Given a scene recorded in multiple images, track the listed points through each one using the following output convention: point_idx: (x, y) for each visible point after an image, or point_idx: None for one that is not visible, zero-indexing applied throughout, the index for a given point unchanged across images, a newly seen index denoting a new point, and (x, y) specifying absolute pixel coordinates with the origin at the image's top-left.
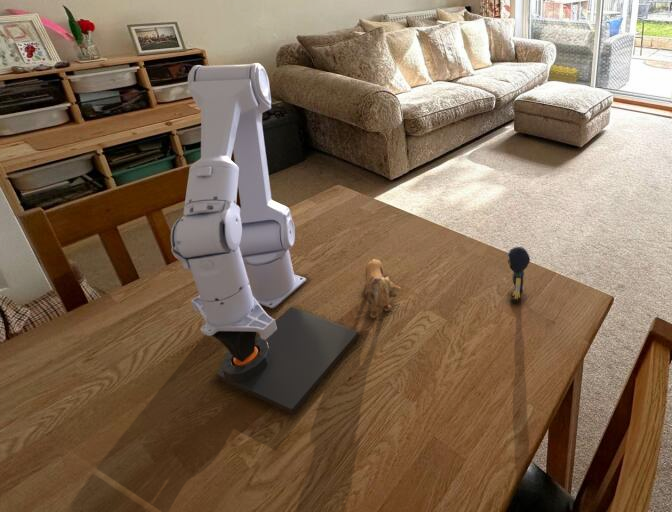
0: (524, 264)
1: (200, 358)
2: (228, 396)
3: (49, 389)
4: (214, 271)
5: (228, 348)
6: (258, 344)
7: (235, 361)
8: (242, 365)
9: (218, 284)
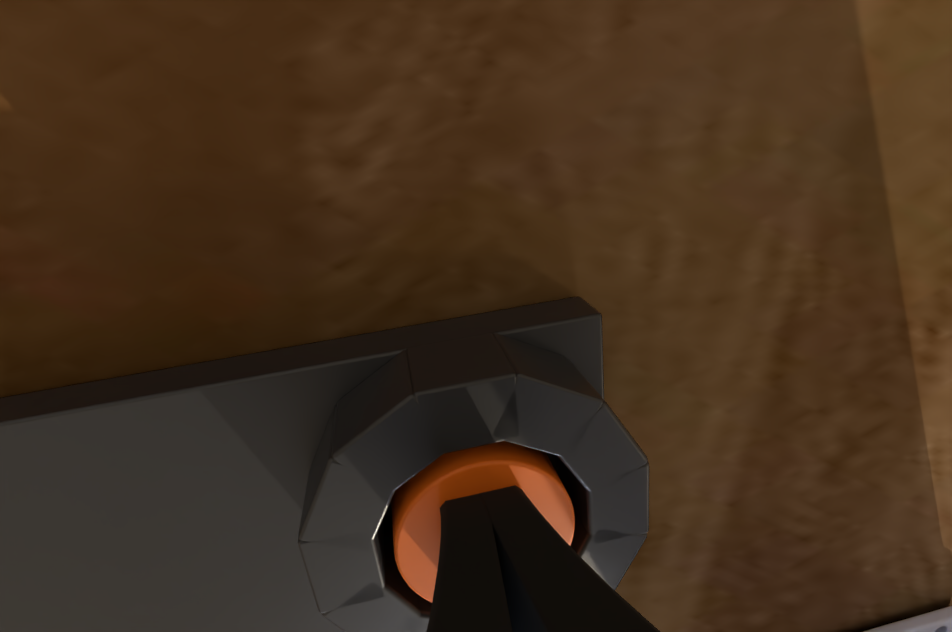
0: None
1: (817, 312)
2: (380, 266)
3: None
4: None
5: (579, 607)
6: None
7: (501, 471)
8: (424, 478)
9: None
